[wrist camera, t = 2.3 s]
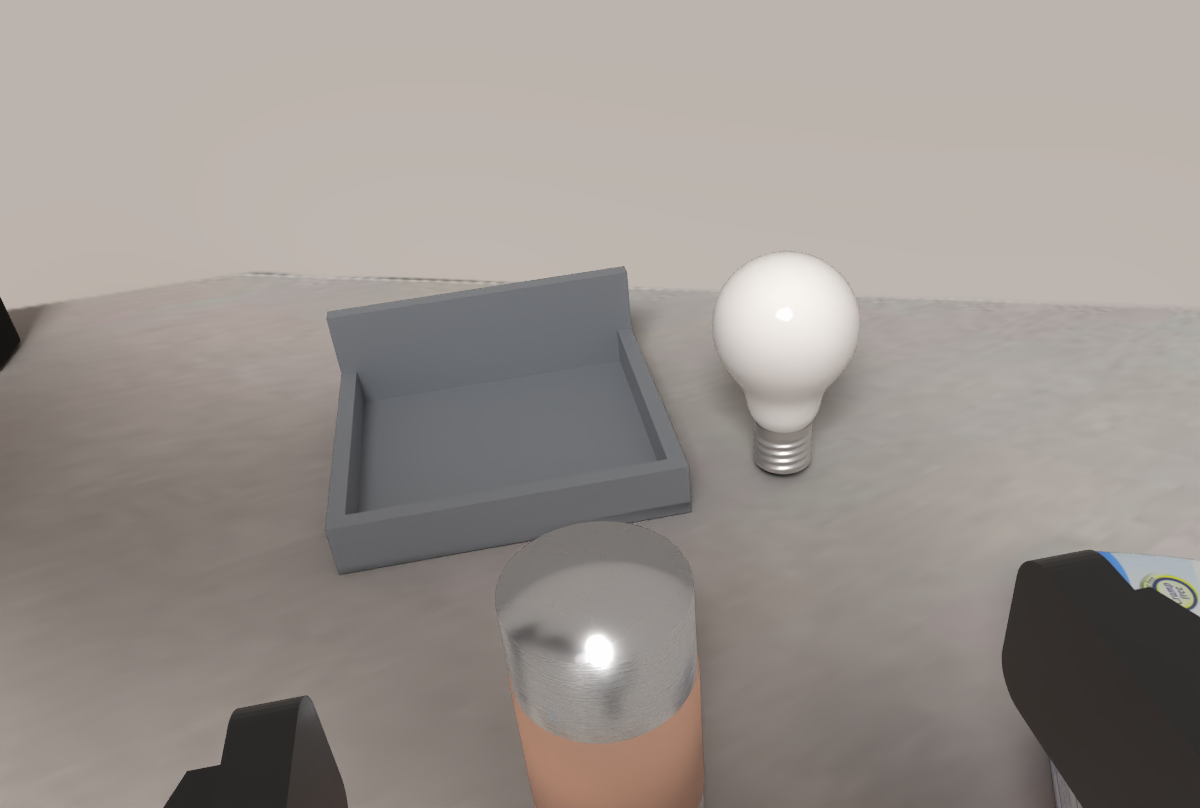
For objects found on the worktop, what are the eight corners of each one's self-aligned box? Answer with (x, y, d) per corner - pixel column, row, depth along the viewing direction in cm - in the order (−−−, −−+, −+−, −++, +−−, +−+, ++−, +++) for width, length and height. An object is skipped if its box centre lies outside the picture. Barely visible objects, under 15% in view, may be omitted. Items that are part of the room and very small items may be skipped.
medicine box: (1252, 1003, 26) (1365, 808, 21) (1069, 967, 27) (1138, 772, 22) (1185, 754, 32) (1261, 560, 27) (1039, 733, 33) (1087, 542, 28)
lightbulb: (731, 423, 50) (728, 223, 44) (857, 438, 48) (873, 231, 42) (701, 499, 45) (693, 287, 39) (840, 519, 43) (855, 299, 37)
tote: (339, 574, 43) (304, 466, 40) (353, 405, 55) (327, 311, 51) (691, 511, 44) (686, 402, 41) (631, 360, 56) (624, 266, 53)
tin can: (554, 931, 29) (501, 683, 23) (534, 780, 33) (486, 538, 27) (726, 894, 29) (719, 641, 23) (684, 749, 34) (670, 505, 28)
